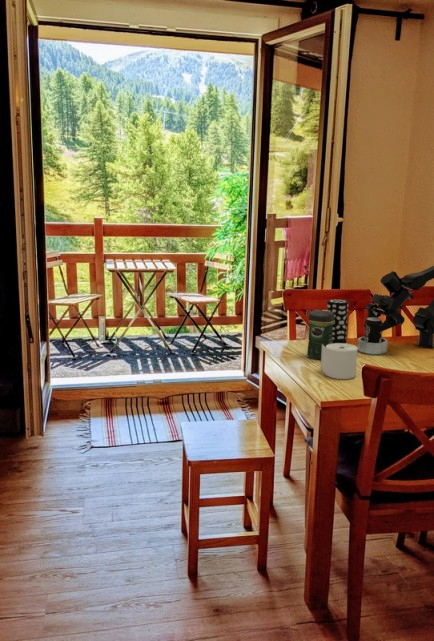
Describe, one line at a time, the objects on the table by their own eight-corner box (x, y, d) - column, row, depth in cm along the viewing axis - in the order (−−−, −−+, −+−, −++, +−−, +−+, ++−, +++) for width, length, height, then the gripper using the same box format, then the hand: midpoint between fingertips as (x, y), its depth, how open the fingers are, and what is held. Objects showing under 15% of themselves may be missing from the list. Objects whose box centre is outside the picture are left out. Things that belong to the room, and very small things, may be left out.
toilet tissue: (357, 380, 183) (359, 351, 181) (321, 378, 185) (322, 350, 183) (354, 370, 194) (356, 343, 191) (320, 369, 196) (321, 342, 193)
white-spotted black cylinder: (342, 353, 215) (344, 303, 211) (322, 350, 220) (324, 301, 215) (348, 348, 222) (351, 300, 218) (329, 345, 227) (331, 298, 222)
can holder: (359, 346, 226) (360, 335, 225) (388, 349, 221) (389, 338, 220) (354, 353, 215) (355, 341, 214) (384, 356, 211) (385, 344, 210)
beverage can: (377, 351, 213) (379, 321, 211) (361, 348, 217) (363, 319, 214) (383, 347, 219) (385, 318, 216) (367, 344, 222) (369, 316, 220)
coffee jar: (335, 357, 210) (338, 310, 206) (327, 362, 204) (329, 313, 200) (312, 353, 216) (314, 307, 212) (304, 357, 209) (305, 310, 205)
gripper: (371, 283, 222) (346, 311, 221) (400, 290, 205) (374, 321, 204) (386, 301, 227) (362, 328, 226) (416, 309, 209) (390, 339, 208)
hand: (371, 329), depth 216 cm, fingers open, 9 cm apart
